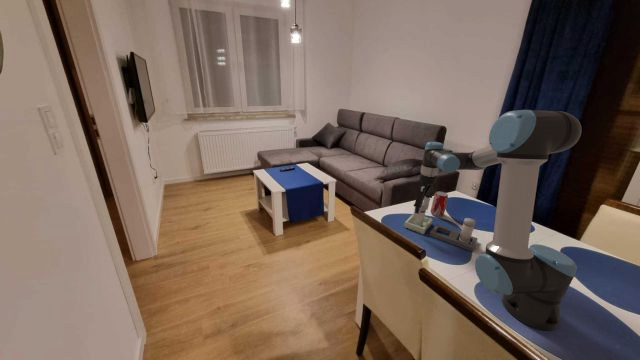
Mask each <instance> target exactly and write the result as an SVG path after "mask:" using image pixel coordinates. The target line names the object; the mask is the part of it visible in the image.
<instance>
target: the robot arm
mask: <svg viewBox="0 0 640 360" xmlns="http://www.w3.org/2000/svg"><path fill="white" fill-rule="evenodd" d="M488 134H489V135H488V144H489V145H488V146H485V147H483V148H479V149H477V150H473V151H471V152H452V151H449V152H447V151H445V150H444V143H442V142H439V141H428V142H426V143H425V146H424V147H425V148H424V151H423V152H424V153H423V158H422V161H421V162H422V163H421V167H420V173H419V178H418V179H419V180H418V181H419V182H420V183H421V184H422V185H420V186H419V189H418V192H417V196H416V198H415V201H414V204H413V207H414V211H413V213H414V216H413V218H415V219H418V220H419V217H420V212H421V205H422V203H423V202H424V203H426V204H427V208H426V211H428V209H429V205H430V200H431V199H432V198H433V185H434V184H436V183H437V177H438V176H437V175H438V173H439V172H440V171H442V172H445V173H448V174H451V173H454V172H456V171H463V170H464V171H481V170H485V169H486V168H487V167H489V166H493V165H497V164H501V170H500V178H499V187H498V195H497V203H496V210H495V211H496V212H495V219H494V226H493V228H494V229H493V236H492V240H491V241H489V242H487V243H486V245H485V252H484V253H480V254H479V255H477V256H476V258H475V259H474V269H475V273H476V276H477V277H478V279H479V281H480V283H481V284H482V286H483V287H484V288H485V289H487V291H489V292H490V293H492V294H495V295H502V297H501V302H502V305H503V307H504V309H505V310H506V311H507V312H508V313H509V314H510V315H511V316H512V317H513V318H515V319H516V320H518V321H519V322H520V323H523V324H524V325H526V326H529V327H531V328H533V329H536V330H541V331H553V330H556V329H557V328H558V327H559V324H560V323H561V302H562V300H563V298H564V297H565V295H566V292H567V291H568V289H569V287H570V285H571V284H572V281H573V279H574V278H575V277H576V275H575V274H576V273H577V270H578V266H577V264H576V261H574V260H573V259H572V258H570V257H569V256H568V255H566V254H565V253H563V252H561V251H559V250H557V249H555V248H552V247H550V246H547V245H542V244H538V243H537V244H536V243H535V244H530V246H529V241H530V237H531V229H532V228H531V227H532V223H533V222H532V221H533V216H534V208H535V201H536V193H537V187H538V180H539V179H538V178H539V173H540V166H542V165H543V164H544V163H546V162H548V160H549V155H550V154H555V153H556V154H557V153H562V152H564V151H568V150H569V149H571V148H572V147H574V146H575V145H576V144H577V142H578V141H579V140H580V137H581V136H582V125H581V122H580V121H579V119H578V118H576V117H575V116H574V115H572V114H570V113H568V112H565V111H560V110H559V111H557V110H538V109H537V110H536V109H520V110H519V109H518V110H510V111H507V112H505V113H502V114H501V116H500V117H498V119H496V120H495V121H494V123H493V124H492V126H491V128H490V131H489V133H488Z"/></svg>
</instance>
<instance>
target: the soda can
mask: <svg viewBox="0 0 640 360" xmlns="http://www.w3.org/2000/svg"><path fill="white" fill-rule="evenodd" d="M448 200H449V194H448V193H447V192H445V191H442V190H441V191H440V190H439V191H435V193H434V195H433V199H432V202H431V203H432V204H431V207H430V213H431V214H432V215H433V216H434V217H436V218H437V217H438V218H440V217H441V218H442V217H443V216H444V215H445V212H446V207H447V205H448Z"/></svg>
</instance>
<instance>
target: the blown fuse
mask: <svg viewBox="0 0 640 360" xmlns="http://www.w3.org/2000/svg"><path fill="white" fill-rule="evenodd" d="M426 208H427V204H426V203H424V201H423V203H422V205H421V212H420V217H419V220H418V219H415V220H414V225H417V226H420V227H422V226H423V223H424V217H426V216H425V215H426V212H427V210H426Z"/></svg>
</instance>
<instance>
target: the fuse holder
mask: <svg viewBox="0 0 640 360" xmlns="http://www.w3.org/2000/svg"><path fill="white" fill-rule="evenodd" d="M475 225H476V220H475V219H474V218H472V217H471V218H469V217H465V218H464V220H463V224H462V226H461V231H458V230H454V229H453V228H452V229H451V228H449V227H446V226H443V225H440V224H437V223H436V224H435V225H434V227H432V229H431V230H430V232H429V236H430V237H431V238H432V237H433V238H435V239H436V240H439V241H443V242H445V243H448V244H450V245H454V246H457V247H459V248H461V249H464V250H467V251H469V252H472V253H473V252H474V249H475V247H476V244H477V243H478V237H475V236H472V234H473V231H474V230H475V229H474V228H475V227H476V226H475ZM438 231H439V232H440V233H439V232H438ZM443 233H444V234H443ZM445 234H447V235H448V236H447V235H445Z"/></svg>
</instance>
